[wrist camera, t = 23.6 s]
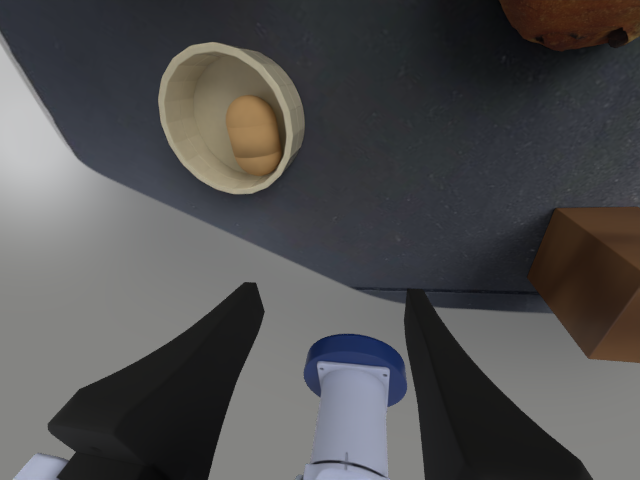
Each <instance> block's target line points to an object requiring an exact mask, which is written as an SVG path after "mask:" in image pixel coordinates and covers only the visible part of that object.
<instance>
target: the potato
mask: <svg viewBox="0 0 640 480" xmlns="http://www.w3.org/2000/svg"><path fill="white" fill-rule="evenodd" d="M226 126H227V131H228V134H229V138H230V142H231V146H232V149H233V153H234V156H235V159H236V161H237V163H238V165H239V166H240V167H241V168H242V169H243V170H244V171H246V172H247V173H249V174H251V175H255V176H263V175H267V174H269V173H271V172H273V171H274V170H275V169H276V168H277V166H278V165H279V163H280V160H281V155H282V151H281V143H280V137H279V131H278V125H277V120H276V116H275V113H274V111H273V109H272V108H271V106H270V105H269V104H268V103H267V102H266V101H265V100H263V99H262V98H260V97H257V96H254V95H244V96H240V97H238V98H236V99H235V100H234V101H233V102H232V103H231V104H230V105H229V107H228V109H227V113H226Z"/></svg>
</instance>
